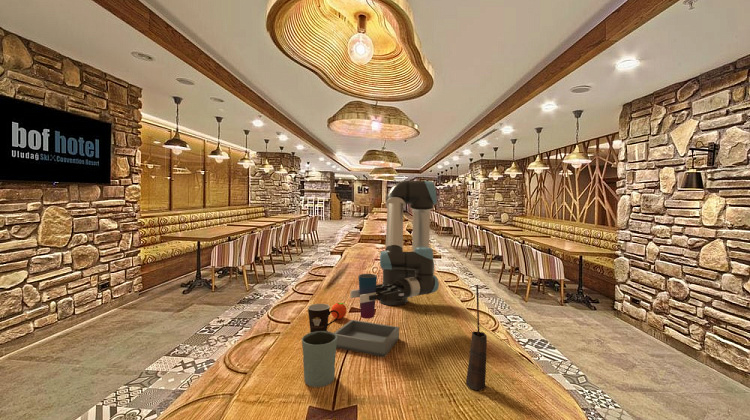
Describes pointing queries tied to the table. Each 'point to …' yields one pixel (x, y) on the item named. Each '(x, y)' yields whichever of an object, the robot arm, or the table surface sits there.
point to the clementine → (339, 310)
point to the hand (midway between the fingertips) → (355, 296)
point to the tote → (367, 337)
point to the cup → (367, 286)
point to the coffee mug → (319, 317)
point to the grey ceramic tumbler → (319, 358)
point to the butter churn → (477, 357)
